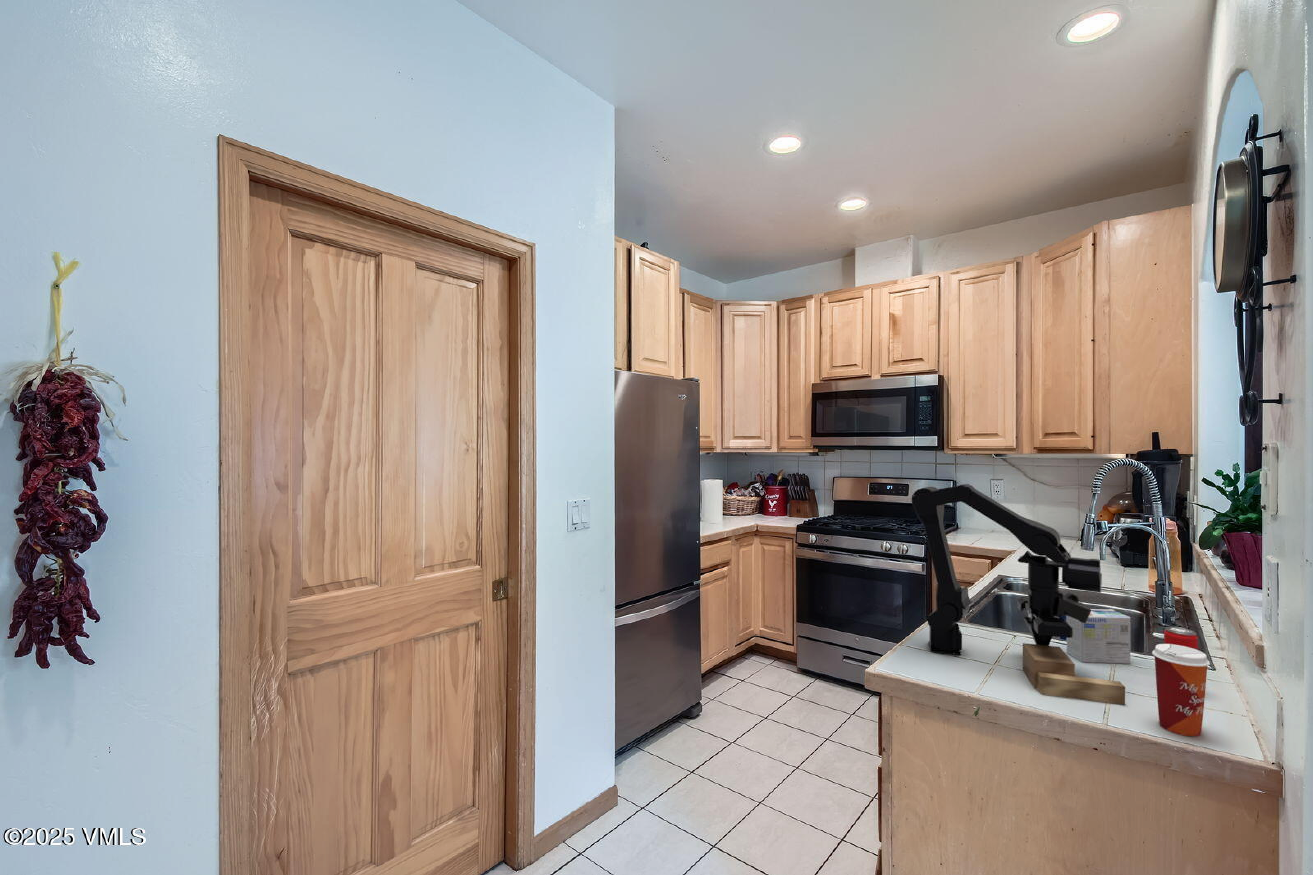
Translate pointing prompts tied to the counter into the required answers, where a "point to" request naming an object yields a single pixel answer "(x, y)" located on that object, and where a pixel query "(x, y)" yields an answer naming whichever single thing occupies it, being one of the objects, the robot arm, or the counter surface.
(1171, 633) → the beverage can
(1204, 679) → the paper cup
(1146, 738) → the counter surface
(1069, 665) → the walnut block
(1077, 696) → the oak board
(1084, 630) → the light bulb box
